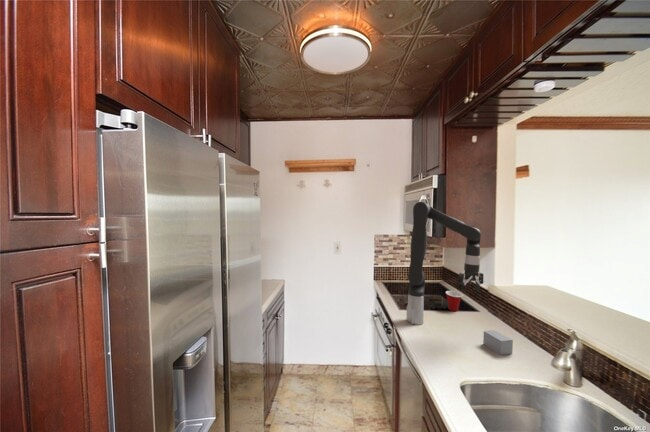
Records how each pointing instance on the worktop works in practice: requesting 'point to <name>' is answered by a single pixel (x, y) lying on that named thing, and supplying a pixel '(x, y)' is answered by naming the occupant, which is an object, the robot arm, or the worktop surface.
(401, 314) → the worktop surface
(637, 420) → the worktop surface
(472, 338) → the worktop surface
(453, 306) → the plastic cup
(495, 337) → the grey rectangular brick
